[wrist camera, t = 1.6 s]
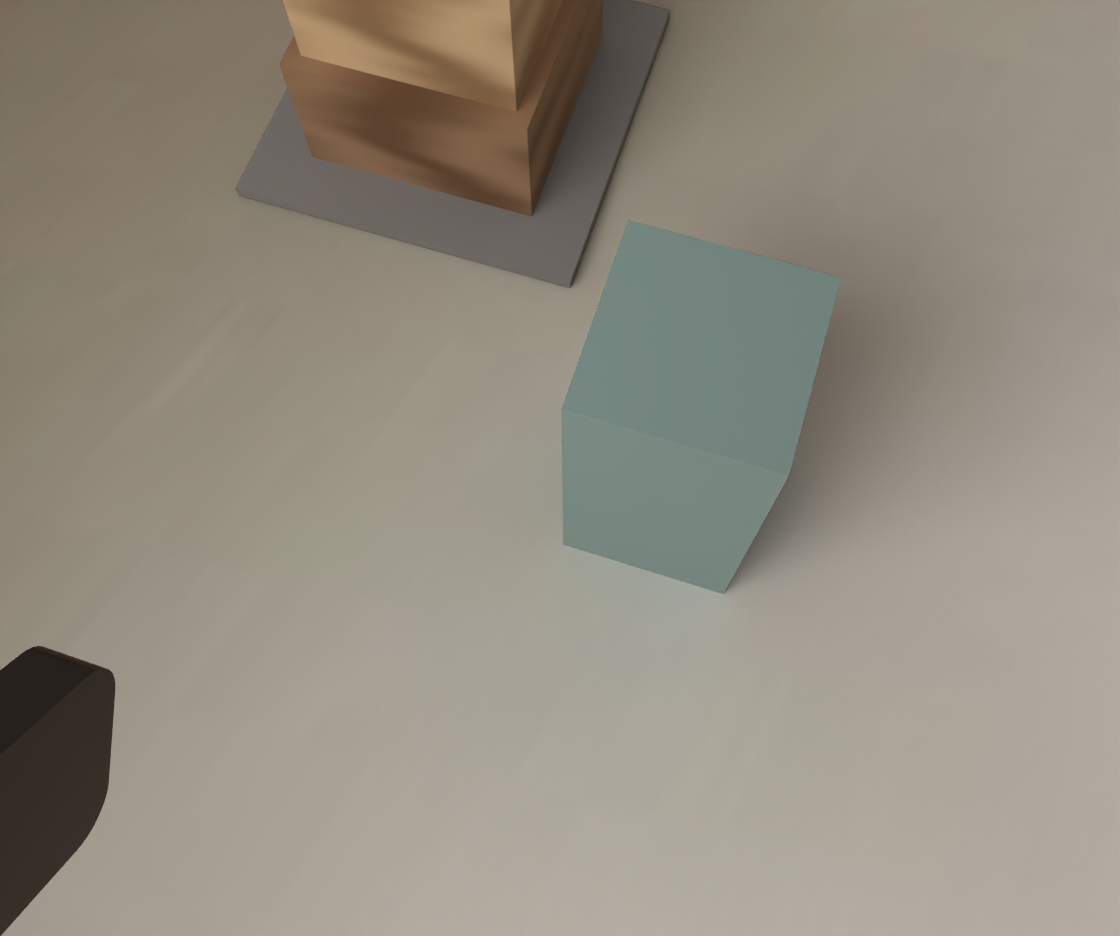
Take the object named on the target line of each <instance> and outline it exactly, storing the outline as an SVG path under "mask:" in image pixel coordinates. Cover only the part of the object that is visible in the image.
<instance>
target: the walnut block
mask: <svg viewBox="0 0 1120 936" xmlns="http://www.w3.org/2000/svg"><path fill="white" fill-rule="evenodd" d="M602 20H603V0H563V1H562V4H561V6H560V9H559V11H558V13H557V16H556V18H555V21H554V23H553V25H552V28H551V30H550V33H549V35H548V38H547V40H546V42H545V45H544V47H543V50H542V52H541V54H540V57H539V59H538V62H537V64H536V66H535V69H534V71H533V74H532V76H531V78H530V81H529V83H528V86H527V88H526V91H525V93H524V95H523V98H522V100H521V103H520V105H519V107H518V110H517V112H515V111H511V110H507V109H503V108H500V107H496V106H492V105H488V104H484V103H480V102H477V101H473V100H469V99H465V98H461V97H457V96H454V95H450V94H446V93H442V92H438V91H434V90H431V89H427V88H423V87H419V86H415V85H411V84H408V83H404V82H400V81H396V80H392V79H388V78H385V77H381V76H377V75H373V74H369V73H365V72H362V71H358V70H354V69H350V68H346V67H342V66H339V65H335V64H331V63H327V62H323V61H319V60H316V59H312V58H308V57H304V56H301V54H300V51H299V48H298V45H297V42H296V39H295V36H294V37H293V39H292V41H291V43H290V45H289V47H288V49H287V51H286V53H285V54H284V56H283V58H282V60H281V62H280V67H281V70H282V73H283V76H284V78H285V81H286V84H287V87H288V90H289V93H290V95H291V98H292V101H293V104H294V107H295V109H296V112H297V115H298V118H299V121H300V124H301V126H302V129H303V132H304V135H305V138H306V140H307V143H308V146H309V149H310V152H311V155H312V157H314V158H318V159H322V160H325V161H329V162H333V163H336V164H340V165H344V166H347V167H351V168H355V169H358V170H362V171H366V172H369V173H373V174H377V175H380V176H384V177H388V178H392V179H395V180H399V181H403V182H406V183H410V184H414V185H417V186H421V187H425V188H428V189H432V190H436V191H439V192H443V193H447V194H450V195H454V196H458V197H461V198H465V199H469V200H472V201H476V202H480V203H483V204H487V205H491V206H494V207H498V208H502V209H505V210H509V211H513V212H516V213H520V214H524V215H527V216H531V217H532V215H533V212H534V210H535V207H536V205H537V202H538V200H539V197H540V194H541V192H542V189H543V187H544V184H545V182H546V179H547V177H548V174H549V172H550V169H551V166H552V164H553V161H554V159H555V156H556V154H557V151H558V149H559V146H560V143H561V141H562V138H563V136H564V133H565V131H566V128H567V126H568V123H569V120H570V118H571V115H572V113H573V110H574V108H575V105H576V103H577V100H578V98H579V95H580V92H581V90H582V87H583V85H584V82H585V80H586V77H587V75H588V72H589V69H590V67H591V64H592V62H593V59H594V57H595V54H596V52H597V49H598V47H599V44H600V41H601V39H602Z"/></svg>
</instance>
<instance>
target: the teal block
mask: <svg viewBox="0 0 1120 936" xmlns="http://www.w3.org/2000/svg"><path fill="white" fill-rule="evenodd" d="M840 281H841V277H838V276H834V275H830V274H826V273H823V272H819V271H815V270H812V269H808V268H804V267H800V266H797V265H793V264H789V263H786V262H782V261H778V260H775V259H771V258H767V257H763V256H760V255H756V254H752V253H749V252H745V251H741V250H737V249H734V248H730V247H726V246H723V245H719V244H715V243H711V242H708V241H704V240H700V239H697V238H693V237H689V236H685V235H682V234H678V233H674V232H671V231H667V230H663V229H660V228H656V227H652V226H648V225H645V224H641V223H637V222H634V221H630V220H628V223H627V225H626V228H625V231H624V234H623V237H622V240H621V242H620V245H619V248H618V251H617V254H616V257H615V259H614V262H613V265H612V268H611V271H610V274H609V276H608V279H607V282H606V285H605V288H604V290H603V293H602V296H601V299H600V302H599V305H598V307H597V310H596V313H595V316H594V319H593V322H592V324H591V327H590V330H589V333H588V336H587V339H586V341H585V344H584V347H583V350H582V353H581V356H580V358H579V361H578V364H577V367H576V370H575V373H574V375H573V378H572V381H571V384H570V387H569V390H568V392H567V395H566V398H565V401H564V404H563V406H562V480H563V544H564V545H567V546H570V547H573V548H577V549H580V550H583V551H586V552H590V553H593V554H596V555H599V556H602V557H606V558H609V559H612V560H615V561H619V562H622V563H625V564H628V565H632V566H635V567H638V568H641V569H645V570H648V571H651V572H654V573H658V574H661V575H664V576H667V577H670V578H674V579H677V580H680V581H683V582H687V583H690V584H693V585H696V586H700V587H703V588H706V589H709V590H713V591H716V592H719V593H722V594H724V592H725V590H726V588H727V587H728V585H729V583H730V581H731V579H732V578H733V576H734V574H735V572H736V570H737V569H738V567H739V565H740V563H741V561H742V560H743V558H744V556H745V554H746V552H747V551H748V549H749V547H750V545H751V543H752V542H753V540H754V538H755V536H756V534H757V533H758V531H759V529H760V527H761V525H762V524H763V522H764V520H765V518H766V516H767V515H768V513H769V511H770V509H771V507H772V506H773V504H774V502H775V500H776V498H777V497H778V495H779V493H780V491H781V489H782V488H783V486H784V484H785V482H786V480H787V479H788V477H789V474H790V471H791V467H792V463H793V459H794V455H795V452H796V448H797V444H798V440H799V436H800V433H801V429H802V425H803V421H804V417H805V414H806V410H807V406H808V402H809V398H810V395H811V391H812V387H813V383H814V380H815V376H816V372H817V368H818V364H819V361H820V357H821V353H822V349H823V345H824V342H825V338H826V334H827V330H828V326H829V323H830V319H831V315H832V311H833V307H834V304H835V300H836V296H837V292H838V288H839V285H840Z"/></svg>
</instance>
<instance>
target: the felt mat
mask: <svg viewBox="0 0 1120 936" xmlns="http://www.w3.org/2000/svg"><path fill="white" fill-rule="evenodd" d="M669 14H670V10H667V9H663V8H659V7H655V6H651V5H647V4H643V3H638V2H634V1H630V0H603V20H602V39H601V41H600V44H599V47H598V49H597V52H596V54H595V57H594V59H593V62H592V64H591V67H590V69H589V72H588V75H587V77H586V80H585V82H584V85H583V87H582V90H581V92H580V95H579V98H578V100H577V103H576V105H575V108H574V110H573V113H572V115H571V118H570V120H569V123H568V126H567V128H566V131H565V133H564V136H563V138H562V141H561V143H560V146H559V149H558V151H557V154H556V156H555V159H554V161H553V164H552V166H551V169H550V172H549V174H548V177H547V179H546V182H545V184H544V187H543V189H542V192H541V194H540V197H539V200H538V202H537V205H536V207H535V210H534V212H533V215H532V217H531V216H527V215H524V214H520V213H516V212H513V211H509V210H505V209H502V208H498V207H494V206H491V205H487V204H483V203H480V202H476V201H472V200H469V199H465V198H461V197H458V196H454V195H450V194H447V193H443V192H439V191H436V190H432V189H428V188H425V187H421V186H417V185H414V184H410V183H406V182H403V181H399V180H395V179H392V178H388V177H384V176H380V175H377V174H373V173H369V172H366V171H362V170H358V169H355V168H351V167H347V166H344V165H340V164H336V163H333V162H329V161H325V160H322V159H318V158H314V157H312V155H311V152H310V149H309V146H308V143H307V140H306V138H305V135H304V132H303V129H302V126H301V124H300V121H299V118H298V115H297V112H296V109H295V107H294V104H293V101H292V98H291V95H290V93H289V90H288V87H287V89H286V91H285V93H284V95H283V97H282V99H281V101H280V103H279V105H278V107H277V109H276V111H275V113H274V115H273V117H272V119H271V120H270V122H269V124H268V126H267V128H266V130H265V132H264V134H263V136H262V138H261V140H260V142H259V144H258V146H257V148H256V150H255V152H254V154H253V155H252V157H251V159H250V161H249V163H248V165H247V167H246V169H245V171H244V173H243V175H242V177H241V179H240V181H239V183H238V185H237V187H236V190H237V193H238V195H239V196H243V197H246V198H250V199H253V200H257V201H261V202H264V203H268V204H271V205H275V206H278V207H282V208H286V209H289V210H293V211H296V212H300V213H304V214H307V215H311V216H314V217H318V218H321V219H325V220H329V221H332V222H336V223H339V224H343V225H347V226H350V227H354V228H357V229H361V230H364V231H368V232H372V233H375V234H379V235H382V236H386V237H389V238H393V239H397V240H400V241H404V242H407V243H411V244H415V245H418V246H422V247H425V248H429V249H432V250H436V251H440V252H443V253H447V254H450V255H454V256H458V257H461V258H465V259H468V260H472V261H475V262H479V263H483V264H486V265H490V266H493V267H497V268H500V269H504V270H508V271H511V272H515V273H518V274H522V275H526V276H529V277H533V278H536V279H540V280H543V281H547V282H551V283H554V284H558V285H561V286H565V287H569V288H570V287H571V284H572V282H573V279H574V276H575V273H576V271H577V268H578V265H579V263H580V260H581V257H582V254H583V252H584V249H585V246H586V243H587V241H588V238H589V235H590V233H591V230H592V227H593V224H594V222H595V219H596V216H597V213H598V211H599V208H600V205H601V203H602V200H603V197H604V194H605V192H606V189H607V186H608V183H609V181H610V178H611V175H612V173H613V170H614V167H615V164H616V162H617V159H618V156H619V153H620V151H621V148H622V145H623V143H624V140H625V137H626V134H627V132H628V129H629V126H630V123H631V121H632V118H633V115H634V113H635V110H636V107H637V104H638V102H639V99H640V96H641V93H642V91H643V88H644V85H645V83H646V80H647V77H648V74H649V72H650V69H651V66H652V63H653V61H654V58H655V55H656V53H657V50H658V47H659V44H660V42H661V39H662V36H663V33H664V31H665V28H666V25H667V22H668V20H669Z"/></svg>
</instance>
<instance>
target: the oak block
mask: <svg viewBox="0 0 1120 936" xmlns="http://www.w3.org/2000/svg"><path fill="white" fill-rule="evenodd" d="M562 1H563V0H283V2H284V5H285V8H286V11H287V14H288V18H289V21H290V24H291V27H292V30H293V33H294V36H295V39H296V42H297V45H298V48H299V51H300V54H301V56H304V57H308V58H312V59H316V60H319V61H323V62H327V63H331V64H335V65H339V66H342V67H346V68H350V69H354V70H358V71H362V72H365V73H369V74H373V75H377V76H381V77H385V78H388V79H392V80H396V81H400V82H404V83H408V84H411V85H415V86H419V87H423V88H427V89H431V90H434V91H438V92H442V93H446V94H450V95H454V96H457V97H461V98H465V99H469V100H473V101H477V102H480V103H484V104H488V105H492V106H496V107H500V108H503V109H507V110H511V111H515V112H517V110H518V107H519V105H520V103H521V100H522V98H523V95H524V93H525V91H526V88H527V86H528V83H529V81H530V78H531V76H532V74H533V71H534V69H535V66H536V64H537V62H538V59H539V57H540V54H541V52H542V50H543V47H544V45H545V42H546V40H547V38H548V35H549V33H550V30H551V28H552V25H553V23H554V21H555V18H556V16H557V13H558V11H559V9H560V6H561V4H562Z"/></svg>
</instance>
